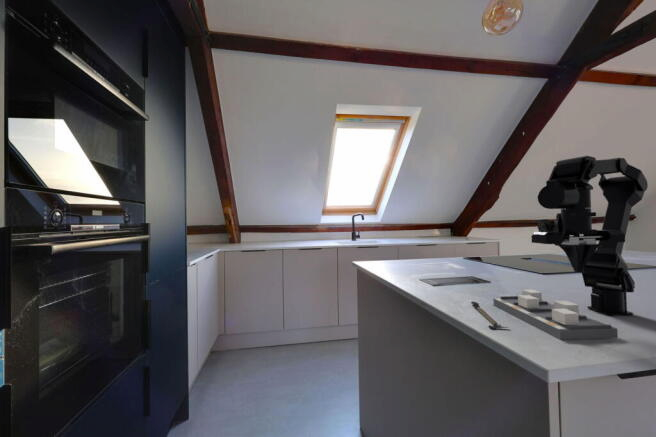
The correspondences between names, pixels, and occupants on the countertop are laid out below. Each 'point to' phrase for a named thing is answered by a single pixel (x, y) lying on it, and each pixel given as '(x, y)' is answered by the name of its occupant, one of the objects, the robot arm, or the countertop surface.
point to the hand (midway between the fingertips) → (577, 272)
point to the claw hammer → (488, 318)
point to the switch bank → (544, 321)
